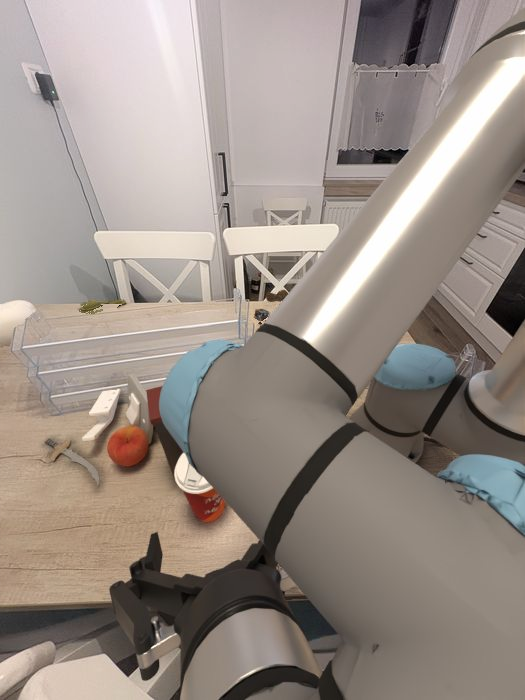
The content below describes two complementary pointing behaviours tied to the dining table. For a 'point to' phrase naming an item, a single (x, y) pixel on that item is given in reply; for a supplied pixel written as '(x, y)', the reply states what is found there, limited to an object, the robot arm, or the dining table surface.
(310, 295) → the robot arm
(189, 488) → the paper cup
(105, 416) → the white long bent piece
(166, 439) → the red-topped box
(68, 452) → the sword
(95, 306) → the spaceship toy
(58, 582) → the dining table surface
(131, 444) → the apple
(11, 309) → the skull
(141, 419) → the light switch
